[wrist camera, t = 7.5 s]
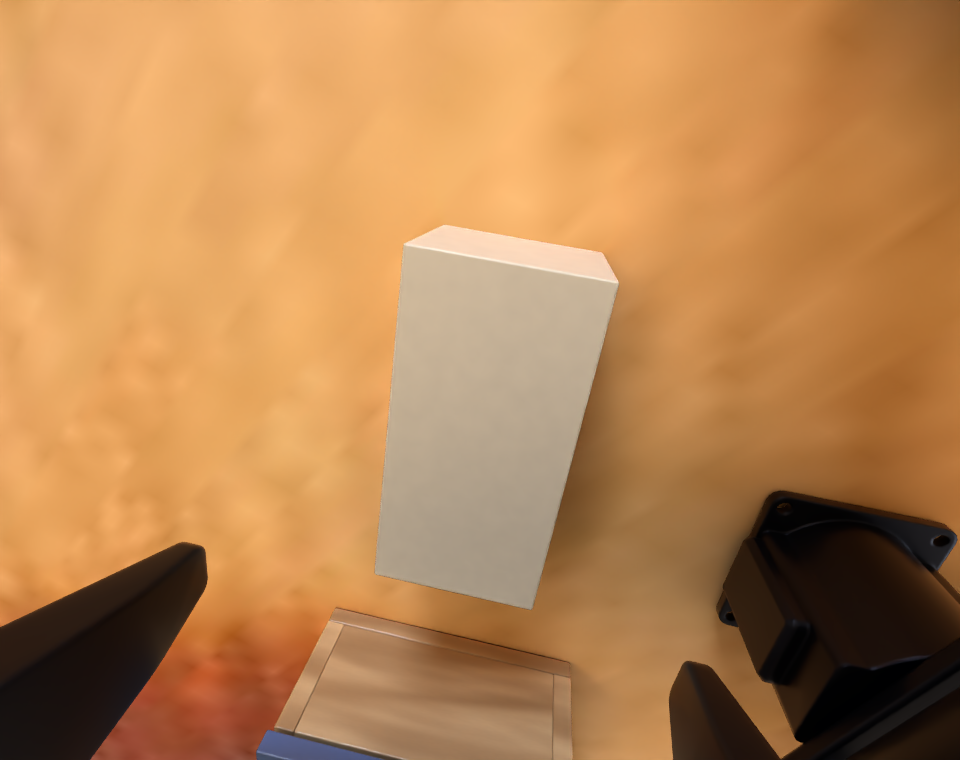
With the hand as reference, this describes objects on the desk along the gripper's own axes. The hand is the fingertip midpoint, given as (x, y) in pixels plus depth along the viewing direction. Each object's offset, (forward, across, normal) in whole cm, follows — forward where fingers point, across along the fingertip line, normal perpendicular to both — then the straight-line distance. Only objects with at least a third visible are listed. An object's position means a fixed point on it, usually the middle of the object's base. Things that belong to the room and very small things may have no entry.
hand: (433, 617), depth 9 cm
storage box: (+11, 0, +20) cm, 23 cm away
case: (+11, 0, 0) cm, 11 cm away
